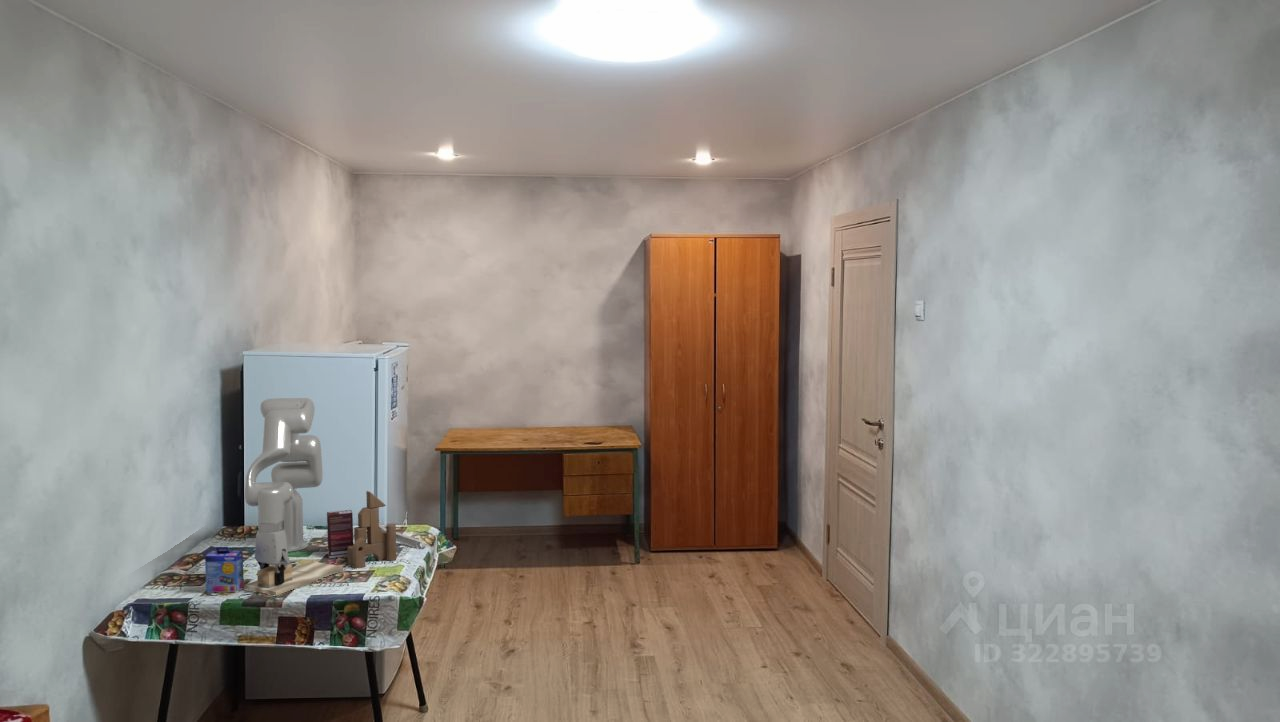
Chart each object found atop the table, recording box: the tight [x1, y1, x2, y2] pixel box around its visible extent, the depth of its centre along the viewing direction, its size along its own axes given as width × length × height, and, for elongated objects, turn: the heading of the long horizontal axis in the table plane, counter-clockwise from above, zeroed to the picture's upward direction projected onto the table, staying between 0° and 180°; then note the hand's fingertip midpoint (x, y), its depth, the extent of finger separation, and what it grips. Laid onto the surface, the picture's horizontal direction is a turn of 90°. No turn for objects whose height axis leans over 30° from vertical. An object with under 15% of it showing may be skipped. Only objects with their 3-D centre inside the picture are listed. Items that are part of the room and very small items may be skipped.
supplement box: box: [326, 509, 354, 559], centre depth 310 cm, size 9×5×16 cm, turn 113°
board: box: [243, 560, 344, 597], centre depth 284 cm, size 14×28×2 cm, turn 154°
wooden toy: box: [347, 490, 397, 569], centre depth 302 cm, size 15×7×25 cm, turn 132°
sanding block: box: [257, 564, 293, 588], centre depth 276 cm, size 5×9×5 cm, turn 154°
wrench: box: [379, 522, 426, 550], centre depth 326 cm, size 8×2×30 cm
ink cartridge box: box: [204, 546, 245, 594], centre depth 273 cm, size 10×6×14 cm, turn 95°
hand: (273, 582), depth 276 cm, fingers closed on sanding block, 5 cm apart
